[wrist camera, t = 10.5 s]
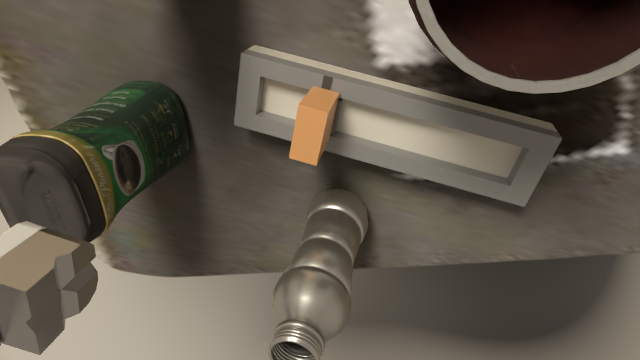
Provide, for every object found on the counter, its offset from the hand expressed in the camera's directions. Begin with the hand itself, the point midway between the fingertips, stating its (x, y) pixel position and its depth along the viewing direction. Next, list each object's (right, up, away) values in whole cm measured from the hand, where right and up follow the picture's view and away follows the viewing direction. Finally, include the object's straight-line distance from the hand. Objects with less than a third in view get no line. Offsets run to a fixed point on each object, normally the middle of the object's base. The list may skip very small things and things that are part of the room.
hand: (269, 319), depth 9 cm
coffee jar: (-17, +9, +38) cm, 43 cm away
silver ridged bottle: (+4, 0, +38) cm, 38 cm away
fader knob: (+1, +10, +31) cm, 32 cm away
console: (+8, +9, +32) cm, 34 cm away
